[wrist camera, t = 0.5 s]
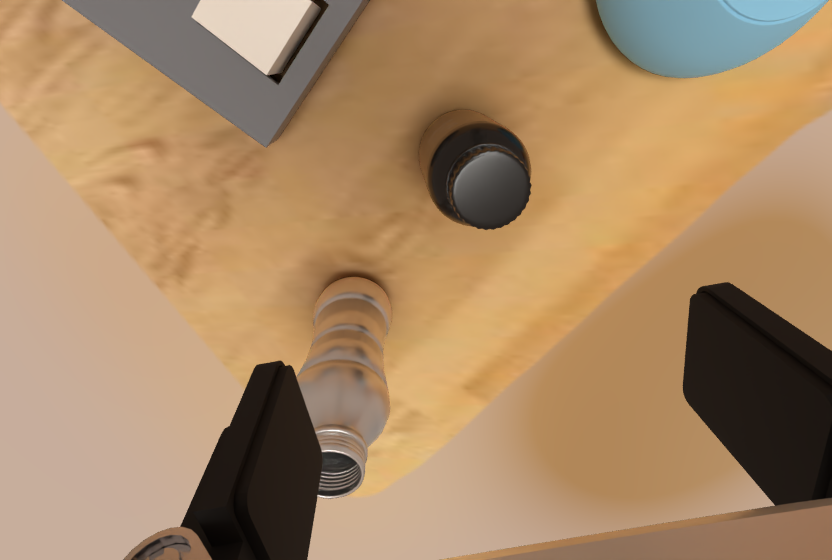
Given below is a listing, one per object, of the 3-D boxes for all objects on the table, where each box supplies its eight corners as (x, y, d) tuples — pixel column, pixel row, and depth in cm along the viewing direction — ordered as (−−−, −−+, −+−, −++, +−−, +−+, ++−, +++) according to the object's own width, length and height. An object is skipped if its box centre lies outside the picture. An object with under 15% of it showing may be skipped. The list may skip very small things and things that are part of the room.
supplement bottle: (431, 204, 40) (446, 259, 29) (408, 123, 37) (415, 150, 26) (511, 181, 40) (556, 228, 29) (493, 96, 37) (537, 113, 26)
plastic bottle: (397, 325, 45) (402, 507, 27) (326, 336, 45) (283, 525, 27) (385, 263, 42) (382, 418, 24) (309, 275, 42) (249, 438, 24)
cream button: (255, -48, 30) (235, -64, 26) (321, 8, 32) (312, 2, 28) (216, 22, 32) (191, 16, 28) (281, 73, 33) (266, 75, 29)
